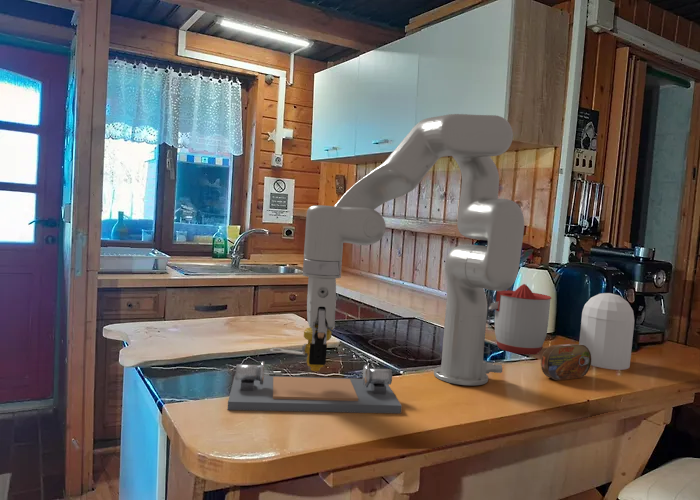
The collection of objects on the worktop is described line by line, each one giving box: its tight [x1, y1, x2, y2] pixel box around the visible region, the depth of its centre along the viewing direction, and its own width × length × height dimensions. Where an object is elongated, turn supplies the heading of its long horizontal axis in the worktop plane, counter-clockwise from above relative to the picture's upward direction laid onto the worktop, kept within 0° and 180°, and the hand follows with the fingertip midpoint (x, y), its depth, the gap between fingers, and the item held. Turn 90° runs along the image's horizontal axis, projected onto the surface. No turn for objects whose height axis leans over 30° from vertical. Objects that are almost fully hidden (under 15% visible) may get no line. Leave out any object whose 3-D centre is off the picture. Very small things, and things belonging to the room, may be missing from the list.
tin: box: [540, 343, 592, 381], centre depth 135 cm, size 15×3×8 cm, turn 116°
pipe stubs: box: [235, 361, 393, 394], centre depth 107 cm, size 31×4×5 cm, turn 98°
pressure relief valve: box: [269, 325, 333, 372], centre depth 107 cm, size 6×12×10 cm, turn 80°
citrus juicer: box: [488, 283, 553, 356], centre depth 160 cm, size 16×17×20 cm
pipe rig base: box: [227, 374, 402, 414], centre depth 108 cm, size 32×16×2 cm, turn 98°
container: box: [578, 292, 635, 371], centre depth 152 cm, size 14×13×20 cm
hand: (316, 359), depth 107 cm, fingers closed on pressure relief valve, 5 cm apart
